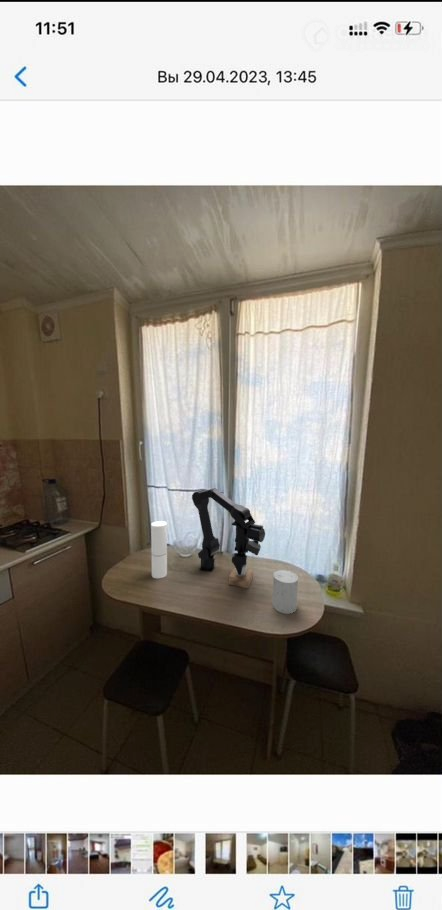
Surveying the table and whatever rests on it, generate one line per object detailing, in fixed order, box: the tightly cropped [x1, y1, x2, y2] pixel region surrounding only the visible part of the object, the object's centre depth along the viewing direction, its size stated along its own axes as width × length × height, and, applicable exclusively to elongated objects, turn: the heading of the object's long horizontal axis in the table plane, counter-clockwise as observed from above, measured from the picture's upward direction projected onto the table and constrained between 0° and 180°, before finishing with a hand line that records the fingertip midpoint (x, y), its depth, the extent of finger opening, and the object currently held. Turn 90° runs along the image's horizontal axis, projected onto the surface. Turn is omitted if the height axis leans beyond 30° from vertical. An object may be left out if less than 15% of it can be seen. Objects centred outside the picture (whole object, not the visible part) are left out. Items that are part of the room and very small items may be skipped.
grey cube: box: [236, 561, 248, 577], centre depth 114 cm, size 5×5×5 cm
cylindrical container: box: [150, 520, 168, 579], centre depth 118 cm, size 7×7×25 cm
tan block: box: [228, 566, 254, 589], centre depth 115 cm, size 9×9×4 cm
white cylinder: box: [271, 568, 299, 615], centre depth 99 cm, size 10×10×12 cm
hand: (241, 568), depth 114 cm, fingers open, 9 cm apart
